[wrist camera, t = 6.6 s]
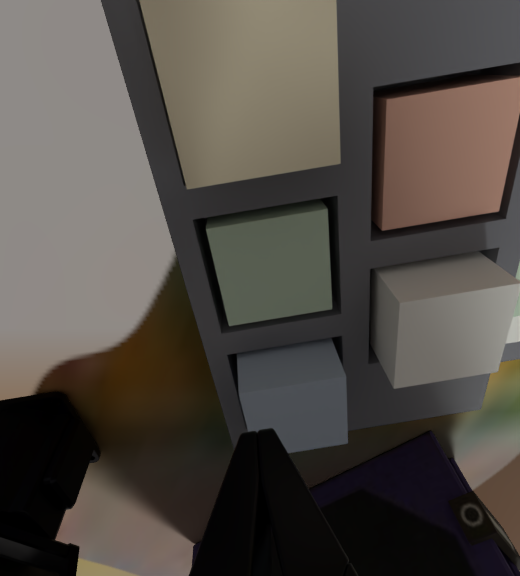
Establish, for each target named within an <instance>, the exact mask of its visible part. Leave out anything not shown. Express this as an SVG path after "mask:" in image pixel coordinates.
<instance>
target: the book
mask: <svg viewBox="0 0 520 576" xmlns="http://www.w3.org/2000/svg"><path fill="white" fill-rule="evenodd" d="M309 491H310V493H311V494H312V496H313V498H314V500H315V501H316V503H317V505H318V507H319V508H320V510H321V512H322V514H323V515H324V517H325V519H326V521H327V522H328V524H329V526H330V527H331V529H332V531H333V533H334V534H335V536H336V538H337V540H338V541H339V543H340V545H341V547H342V548H343V550H344V552H345V554H346V555H347V557H348V559H349V563H351V564H352V566H353V567H354V569H355V571H356V572H357V574H358V576H520V572H519V570H520V556H519V554H518V552H517V551H516V549H515V547H514V546H513V544H512V542H511V541H510V539H509V537H508V536H507V534H506V532H505V531H504V529H503V528H502V526H501V525H500V524H499V523H498V521H497V520H496V519H495V518H494V516H493V515H492V514H491V513H490V511H489V510H488V509H487V508H486V506H485V505H484V504H483V503H482V501H481V500H480V499H479V498H478V496H477V495H476V494H475V493H474V491H472V489H471V488H470V486H469V484H468V483H467V481H466V479H465V477H464V476H463V474H462V472H461V471H460V469H459V467H458V465H457V464H456V462H455V460H454V459H453V458H451V459H449V460H448V458H447V456H446V454H445V453H444V451H443V449H442V447H441V446H440V444H439V442H438V440H437V439H436V437H435V435H434V434H433V432H432V431H429V432H427V433H425V434H423V435H421V436H419V437H417V438H415V439H413V440H411V441H409V442H407V443H404V444H402V445H400V446H398V447H396V448H394V449H392V450H390V451H388V452H386V453H384V454H382V455H380V456H377V457H375V458H373V459H371V460H369V461H367V462H365V463H363V464H361V465H359V466H357V467H355V468H353V469H351V470H348V471H346V472H344V473H342V474H340V475H338V476H336V477H334V478H332V479H330V480H328V481H326V482H324V483H321V484H319V485H317V486H315V487H313V488H311V489H309ZM200 543H201V542H199V543H197V544H195V545H194V546H193V559H192V566H193V563H194V560H195V557H196V554H197V552H198V549H199V546H200ZM271 545H272V576H283V575H282V571H281V566H280V562H279V558H278V554H277V549H276V545H275V541H274V536H273V532H272V528H271Z"/></svg>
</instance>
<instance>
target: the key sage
mask: <svg viewBox="0 0 520 576" xmlns="http://www.w3.org/2000/svg"><path fill="white" fill-rule="evenodd" d="M206 232H207V236H208V240H209V244H210V249H211V253H212V257H213V261H214V265H215V270H216V274H217V278H218V282H219V286H220V291H221V295H222V299H223V303H224V307H225V311H226V316H227V320H228V324H229V326H233V325H239V324H245V323H251V322H258V321H264V320H270V319H276V318H282V317H288V316H294V315H300V314H306V313H312V312H318V311H324V310H330V309H332V290H331V269H330V248H329V227H328V209H327V207H326V206H325V205H324V203H323V202H322V200H321V199H314V200H308V201H302V202H296V203H290V204H284V205H278V206H272V207H266V208H260V209H254V210H248V211H242V212H236V213H230V214H224V215H218V216H212V217H207V225H206Z"/></svg>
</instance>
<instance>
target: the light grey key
mask: <svg viewBox="0 0 520 576" xmlns="http://www.w3.org/2000/svg"><path fill="white" fill-rule="evenodd" d="M519 293H520V281H519V280H517V279H516V278H515V277H513V276H512V275H511V274H509V273H508V272H506V271H505V270H504V269H502V268H501V267H500V266H498V265H497V264H495V263H494V262H493V261H491V260H490V259H488V258H487V257H486V256H484V255H483V254H482V253H480V252H479V251H475V252H469V253H463V254H457V255H451V256H445V257H438V258H432V259H426V260H420V261H414V262H408V263H402V264H396V265H390V266H384V267H378V268H372V269H371V302H370V344H371V346H372V348H373V350H374V352H375V354H376V356H377V358H378V360H379V362H380V364H381V365H382V367H383V369H384V371H385V373H386V375H387V377H388V379H389V381H390V383H391V385H392V386H393V388H394V389H397V388H403V387H409V386H415V385H421V384H427V383H433V382H439V381H445V380H452V379H458V378H464V377H470V376H476V375H482V374H488V373H494V372H498V369H499V365H500V362H501V358H502V354H503V351H504V347H505V344H506V340H507V336H508V333H509V329H510V325H511V322H512V318H513V315H514V311H515V307H516V304H517V300H518V297H519Z"/></svg>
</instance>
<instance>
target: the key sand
mask: <svg viewBox="0 0 520 576" xmlns="http://www.w3.org/2000/svg"><path fill="white" fill-rule="evenodd" d="M139 1H140V5H141V9H142V13H143V17H144V21H145V25H146V29H147V33H148V37H149V41H150V45H151V49H152V53H153V57H154V61H155V64H156V68H157V72H158V76H159V80H160V84H161V88H162V92H163V96H164V100H165V104H166V108H167V112H168V116H169V120H170V124H171V128H172V132H173V136H174V140H175V144H176V148H177V152H178V156H179V160H180V164H181V168H182V171H183V175H184V179H185V183H186V187H187V189H193V188H199V187H205V186H211V185H217V184H223V183H229V182H235V181H241V180H247V179H253V178H259V177H265V176H271V175H276V174H282V173H288V172H294V171H300V170H306V169H312V168H318V167H324V166H330V165H336V164H341V157H340V119H339V81H338V43H337V4H336V0H139Z"/></svg>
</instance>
